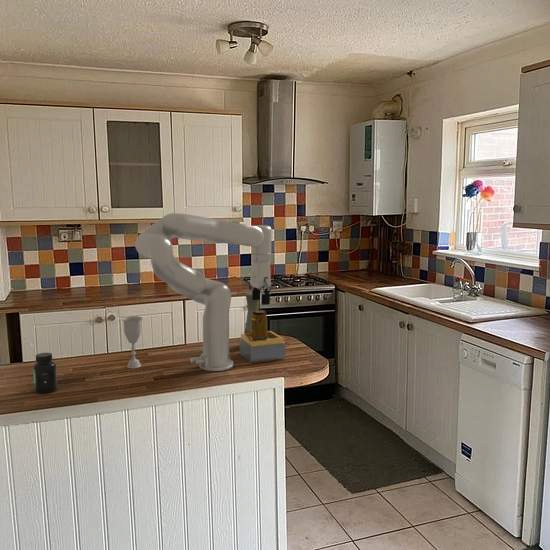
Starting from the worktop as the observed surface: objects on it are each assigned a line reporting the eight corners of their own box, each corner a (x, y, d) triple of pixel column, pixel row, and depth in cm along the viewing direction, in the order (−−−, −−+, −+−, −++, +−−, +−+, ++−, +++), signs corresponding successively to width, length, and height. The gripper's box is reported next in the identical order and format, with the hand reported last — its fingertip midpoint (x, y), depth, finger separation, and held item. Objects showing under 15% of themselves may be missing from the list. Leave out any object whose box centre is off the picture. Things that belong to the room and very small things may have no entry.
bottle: (253, 342, 230) (252, 277, 226) (268, 346, 224) (268, 279, 220) (238, 346, 224) (238, 280, 219) (254, 350, 218) (254, 282, 213)
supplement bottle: (32, 394, 170) (29, 358, 168) (37, 387, 176) (35, 352, 174) (54, 393, 171) (52, 357, 169) (59, 386, 177) (57, 351, 176)
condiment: (250, 339, 212) (250, 309, 211) (271, 338, 213) (271, 309, 211) (251, 344, 205) (251, 313, 203) (273, 343, 206) (273, 313, 204)
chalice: (120, 367, 196) (117, 319, 193) (131, 362, 202) (129, 315, 200) (136, 370, 194) (134, 321, 191) (147, 364, 200) (146, 317, 197)
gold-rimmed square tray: (251, 362, 202) (250, 342, 201) (239, 353, 214) (239, 333, 212) (290, 357, 208) (290, 337, 207) (277, 348, 220) (277, 329, 219)
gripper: (244, 255, 211) (243, 298, 213) (260, 260, 195) (260, 307, 197) (262, 255, 214) (261, 297, 216) (279, 260, 198) (278, 305, 200)
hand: (260, 302), depth 207 cm, fingers open, 9 cm apart
